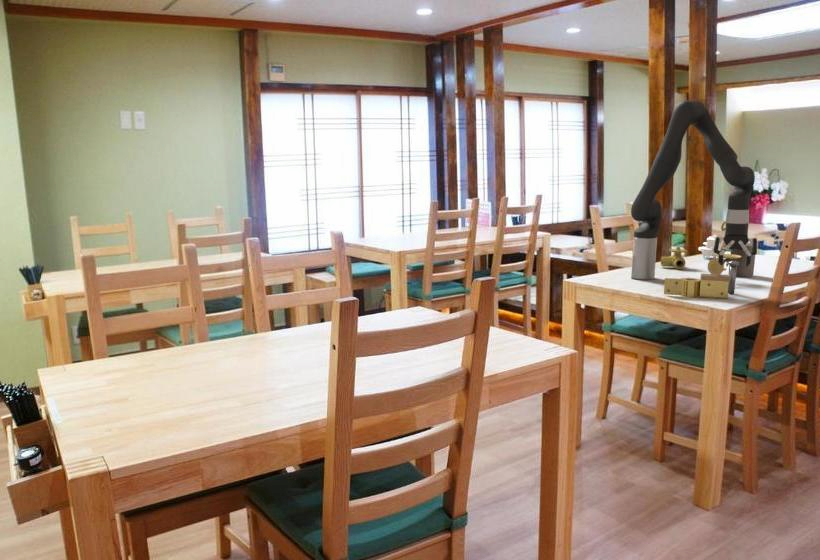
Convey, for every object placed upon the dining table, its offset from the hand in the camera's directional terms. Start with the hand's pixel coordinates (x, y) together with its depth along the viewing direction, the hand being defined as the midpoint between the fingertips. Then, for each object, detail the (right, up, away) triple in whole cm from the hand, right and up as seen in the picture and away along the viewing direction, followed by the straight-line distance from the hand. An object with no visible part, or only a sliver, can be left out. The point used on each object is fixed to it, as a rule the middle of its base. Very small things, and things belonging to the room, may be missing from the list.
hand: (733, 265), depth 249 cm
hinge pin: (0, -11, +2) cm, 11 cm away
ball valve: (0, 0, +59) cm, 59 cm away
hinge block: (-15, -11, -1) cm, 19 cm away
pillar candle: (+22, -4, +39) cm, 44 cm away
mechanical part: (+29, +5, +84) cm, 88 cm away
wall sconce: (+7, -6, +25) cm, 27 cm away
